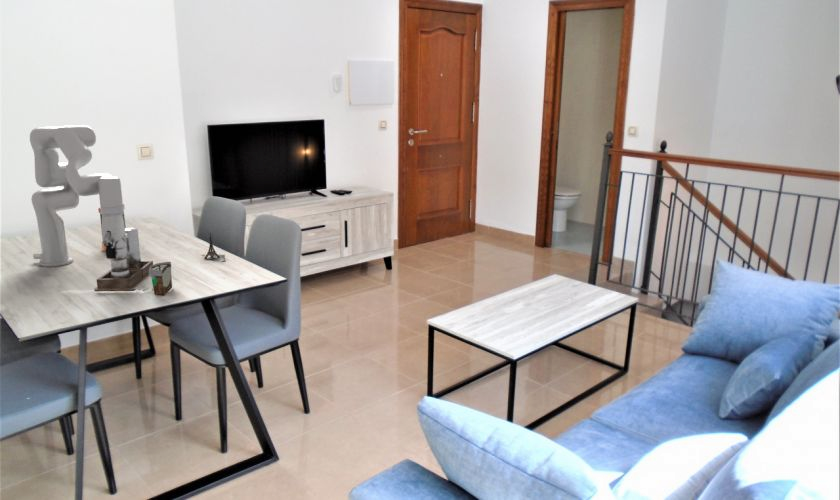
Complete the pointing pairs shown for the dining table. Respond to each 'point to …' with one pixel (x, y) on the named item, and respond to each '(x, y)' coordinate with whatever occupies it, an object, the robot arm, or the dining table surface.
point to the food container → (161, 278)
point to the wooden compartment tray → (124, 279)
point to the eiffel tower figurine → (213, 253)
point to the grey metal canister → (132, 248)
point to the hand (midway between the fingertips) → (116, 254)
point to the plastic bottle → (119, 261)
